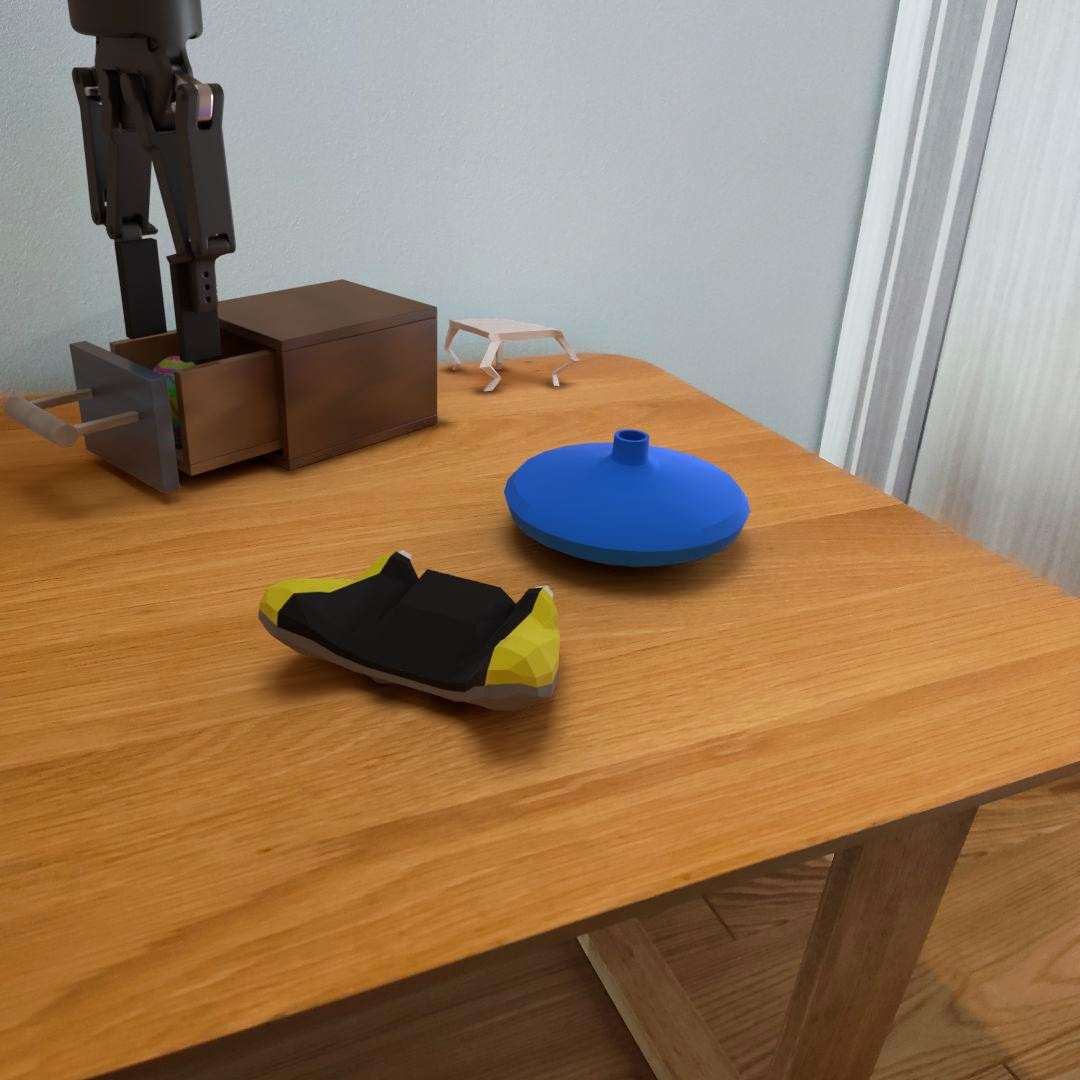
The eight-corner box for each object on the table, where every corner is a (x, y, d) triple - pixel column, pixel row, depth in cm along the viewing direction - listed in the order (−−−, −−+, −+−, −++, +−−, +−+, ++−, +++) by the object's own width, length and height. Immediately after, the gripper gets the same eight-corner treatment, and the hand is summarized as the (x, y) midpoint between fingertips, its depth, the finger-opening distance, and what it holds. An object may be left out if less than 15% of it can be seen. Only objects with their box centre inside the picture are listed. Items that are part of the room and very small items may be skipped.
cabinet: (289, 470, 76) (281, 340, 72) (199, 427, 83) (187, 306, 79) (437, 423, 86) (437, 306, 82) (346, 388, 93) (342, 278, 89)
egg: (157, 425, 78) (147, 345, 75) (225, 426, 78) (218, 347, 75) (139, 450, 73) (128, 366, 71) (211, 451, 74) (203, 368, 71)
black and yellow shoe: (525, 775, 47) (600, 664, 56) (530, 673, 45) (608, 572, 53) (246, 689, 52) (354, 598, 61) (237, 592, 50) (351, 511, 58)
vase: (473, 574, 64) (475, 465, 61) (533, 475, 78) (537, 383, 74) (737, 613, 61) (753, 502, 58) (750, 504, 75) (764, 409, 72)
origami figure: (445, 394, 93) (445, 339, 91) (443, 365, 100) (444, 313, 98) (580, 395, 94) (584, 341, 92) (569, 366, 102) (572, 316, 99)
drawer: (80, 519, 66) (60, 400, 62) (4, 471, 72) (-18, 359, 68) (327, 443, 79) (322, 341, 76) (246, 407, 85) (238, 311, 82)
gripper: (-7, -45, 65) (53, 324, 76) (160, -38, 54) (202, 393, 65) (108, -37, 70) (149, 308, 81) (282, -30, 59) (303, 368, 70)
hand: (173, 345), depth 73 cm, fingers open, 6 cm apart
